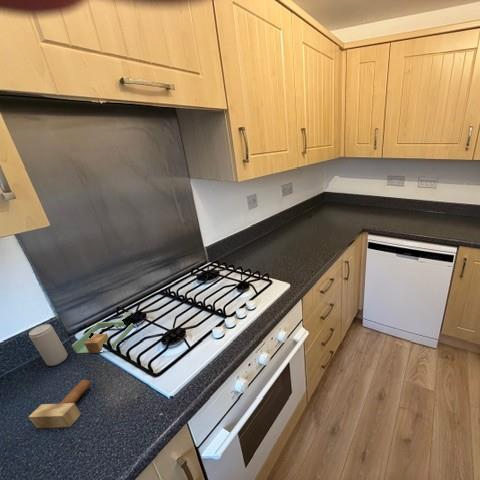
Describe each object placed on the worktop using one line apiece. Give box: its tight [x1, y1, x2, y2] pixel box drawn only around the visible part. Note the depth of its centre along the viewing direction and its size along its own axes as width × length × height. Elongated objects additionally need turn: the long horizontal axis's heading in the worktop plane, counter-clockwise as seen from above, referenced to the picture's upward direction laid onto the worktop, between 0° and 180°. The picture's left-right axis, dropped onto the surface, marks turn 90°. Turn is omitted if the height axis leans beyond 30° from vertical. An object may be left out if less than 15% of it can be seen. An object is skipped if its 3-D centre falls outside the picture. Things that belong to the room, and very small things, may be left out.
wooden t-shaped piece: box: [28, 379, 92, 429], centre depth 64 cm, size 8×4×10 cm
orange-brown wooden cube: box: [84, 333, 109, 354], centre depth 81 cm, size 4×4×4 cm
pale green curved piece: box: [71, 310, 134, 354], centre depth 88 cm, size 18×13×3 cm
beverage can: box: [28, 323, 69, 367], centre depth 76 cm, size 5×5×12 cm
